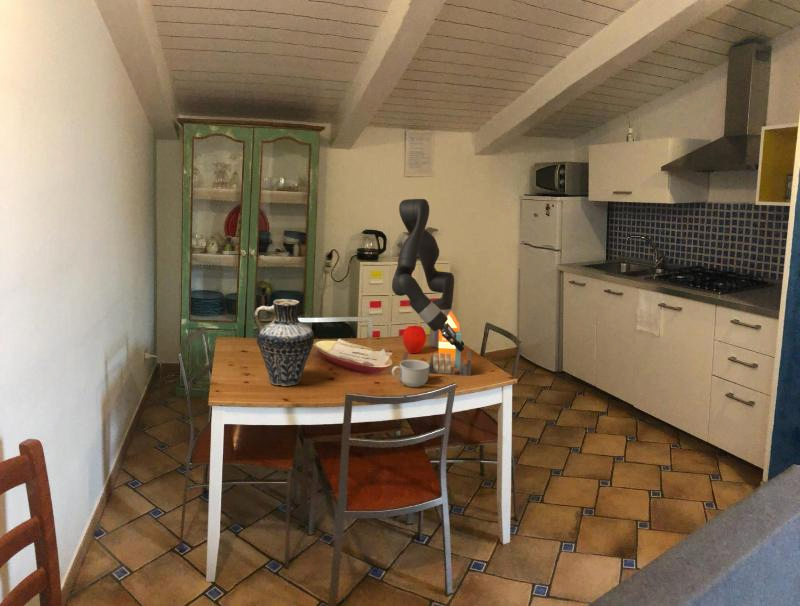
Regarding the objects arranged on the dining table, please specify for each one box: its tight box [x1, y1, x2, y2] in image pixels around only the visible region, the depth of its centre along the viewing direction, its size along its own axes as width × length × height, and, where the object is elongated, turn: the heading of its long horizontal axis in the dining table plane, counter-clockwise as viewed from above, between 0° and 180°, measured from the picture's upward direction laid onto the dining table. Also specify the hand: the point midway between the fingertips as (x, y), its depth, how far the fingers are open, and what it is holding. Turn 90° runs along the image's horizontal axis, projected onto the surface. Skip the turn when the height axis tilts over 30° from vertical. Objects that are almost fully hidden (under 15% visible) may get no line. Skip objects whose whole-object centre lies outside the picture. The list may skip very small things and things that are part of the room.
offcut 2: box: [439, 353, 445, 373], centre depth 258 cm, size 2×10×5 cm, turn 175°
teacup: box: [391, 359, 430, 388], centre depth 240 cm, size 14×11×8 cm
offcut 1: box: [433, 352, 439, 372], centre depth 258 cm, size 2×10×5 cm, turn 175°
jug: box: [253, 298, 315, 387], centre depth 236 cm, size 21×19×30 cm
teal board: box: [454, 330, 462, 368], centre depth 257 cm, size 2×6×13 cm, turn 175°
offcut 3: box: [445, 353, 452, 373], centre depth 258 cm, size 2×10×5 cm, turn 175°
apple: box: [402, 324, 427, 354], centre depth 284 cm, size 10×10×12 cm
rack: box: [401, 350, 472, 377], centre depth 258 cm, size 26×14×7 cm, turn 85°
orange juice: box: [438, 311, 460, 362], centre depth 274 cm, size 8×9×20 cm
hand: (462, 347), depth 256 cm, fingers closed on teal board, 6 cm apart
